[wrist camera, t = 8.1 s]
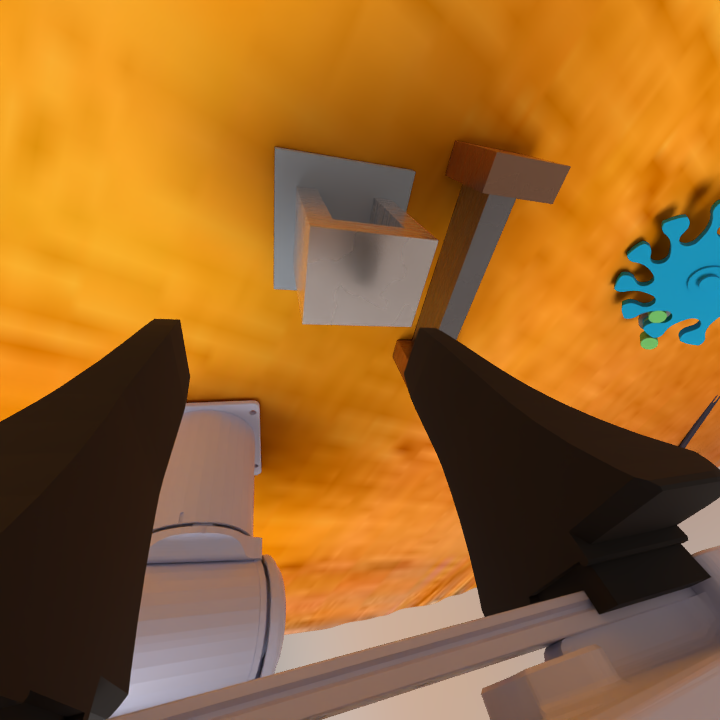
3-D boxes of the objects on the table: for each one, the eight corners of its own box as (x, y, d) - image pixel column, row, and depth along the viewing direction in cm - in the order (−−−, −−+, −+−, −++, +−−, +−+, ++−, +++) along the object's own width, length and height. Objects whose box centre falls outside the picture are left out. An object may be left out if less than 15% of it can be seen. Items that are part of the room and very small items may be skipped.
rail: (438, 356, 26) (460, 390, 23) (392, 356, 25) (409, 392, 22) (519, 153, 18) (570, 166, 15) (455, 140, 17) (497, 151, 14)
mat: (383, 290, 21) (386, 294, 21) (273, 284, 19) (273, 289, 19) (411, 169, 17) (415, 171, 17) (274, 146, 15) (275, 148, 15)
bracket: (376, 270, 20) (411, 326, 15) (292, 264, 18) (302, 323, 14) (391, 199, 17) (438, 240, 13) (296, 186, 16) (310, 226, 11)
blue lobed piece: (697, 175, 19) (910, 245, 17) (684, 164, 23) (855, 218, 21) (574, 319, 27) (706, 381, 24) (580, 292, 31) (694, 343, 28)
